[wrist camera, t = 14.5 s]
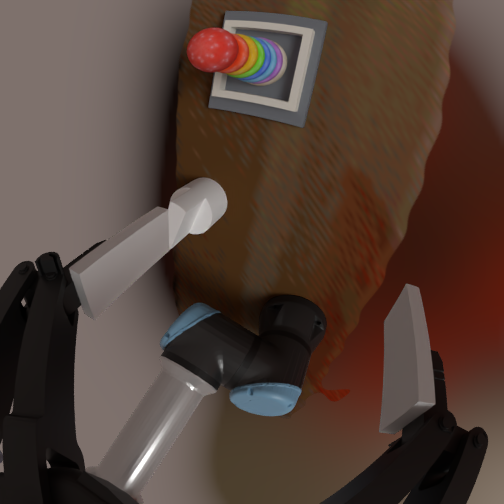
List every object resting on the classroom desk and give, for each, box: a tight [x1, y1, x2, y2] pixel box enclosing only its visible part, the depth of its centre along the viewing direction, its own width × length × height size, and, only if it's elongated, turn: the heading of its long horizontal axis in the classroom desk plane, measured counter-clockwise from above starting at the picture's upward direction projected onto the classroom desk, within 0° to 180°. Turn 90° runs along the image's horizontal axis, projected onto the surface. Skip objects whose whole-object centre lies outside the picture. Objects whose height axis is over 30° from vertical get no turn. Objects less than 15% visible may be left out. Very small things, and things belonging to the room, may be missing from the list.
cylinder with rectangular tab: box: [168, 177, 227, 249], centre depth 47 cm, size 9×9×12 cm
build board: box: [209, 11, 327, 128], centre depth 33 cm, size 18×16×4 cm
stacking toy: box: [187, 28, 287, 86], centre depth 26 cm, size 8×8×19 cm
